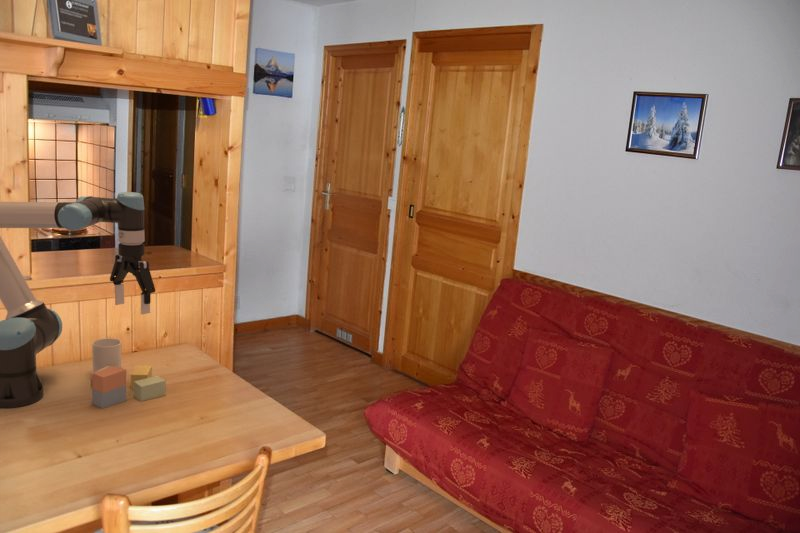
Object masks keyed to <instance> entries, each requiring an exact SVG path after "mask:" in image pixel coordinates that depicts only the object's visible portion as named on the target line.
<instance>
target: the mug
mask: <svg viewBox="0 0 800 533" xmlns="http://www.w3.org/2000/svg"><path fill="white" fill-rule="evenodd" d="M91 349H92V350H91V352H92V373H94V372H96V371H98V370H100V369H102V368H104V367H106V366H112V367H113V366H117V367H120V368H122V367H123V366H122V365H123V364H122V361H123V360H122V340H121V339H118V338H114V337H106V338H98V339H96V340H93V341H92V348H91ZM122 369H123V368H122Z"/></svg>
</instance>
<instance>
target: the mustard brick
mask: <svg viewBox="0 0 800 533" xmlns="http://www.w3.org/2000/svg"><path fill="white" fill-rule="evenodd" d="M150 377H153V365H140V364H139V365H137V364H136V365H135V367H134V369H133V370H132V372H131V374H130V389H131V390H134V381H138V380H142V379H146V378H150Z"/></svg>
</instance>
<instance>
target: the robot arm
mask: <svg viewBox="0 0 800 533" xmlns="http://www.w3.org/2000/svg"><path fill="white" fill-rule="evenodd" d="M144 201H145V200H144V196H143V194H142V193H139V192H136V191H135V192H133V191H130V192H129V191H122V192H118V193H117V195H116V198H114V197H113V198H109V197H101V196H100V197H99V196H98V197H97V196H93V195H88V196H79V197H78V198H77V199H76V201H71V202H70V201H63V202H61V201H60V202H58V201H53V202H51V201H0V229H65V230H68V231H69V232H70V231H71V232H72V231H73V232H74V231H82V230H84V229H87V228H88V227H91V226H93V225H97V224H98V223H112V224H117V231H118V234H117V235H118V236H117V238H118V242H119V243H118V246H117V247H118V250H117V251H118V254H116V255H115V257H114V259H115V260H114V264H113V268H112V270H111V274H110V277H109V281H110V282H112V284H113V285H114V303H115V304H114V305H115V306H118V305H124V304H125V284H124V280H125V278H126V277H127V275H128V274H129V273H130V274H132V275H133V276H134V277H135V279H136V281H137V283H138V286H139V288H140V291H141V293H140V314H141V315H147V314H151V302H152V300H151V299H152V298H151V294H152V293H156V288H155V284H154V281H153V277H152V273H151V270H150V264H149V261H148V260H145V261H142V257H143V256H144V255H145V253H146V252H145V243H144V242H145V240H146V239H145V202H144ZM0 302H1V303H2V304H3V306H4V308H5V310H6V311H7V313H6V316H5V317H4V318H5V319H3V320H0V408H2V409H3V408H4V409H5V408H10V409H11V408H19V407H24V406H28V405H32V404H34V403H36V402H38V401H39V400H41V399H42V398H43V397H44V394H45V393H44V392H45V389H44V385H43V383H42V381H41V379H40V376H39V374H38V371H37V355H38V354H39V353H41V352H42V351H43V350H45V349H47V348H48V347H49V346H52V345H53V344H54V343H55V342H56V341H57V340H58V339H59V338H60V336H61V335H62V333H63V332H62V331H63V321H62V319H61V317H60V315H59V314H58V313H57V312H56V311H55V310H52V309H50V308H48V307H47V306H46V304H45V302H44V301H43V300H39V299H37V298H36V297H35V295H34V293H33V291H32V290H31V288H30V287H29V285H28V283H27V281H26V279H25V278H24V275H23V274H22V272H21V270H20V269H19V267H18V265H17V263H16V261H15V260H14V258H13V256H12V254H11V252H10V251H9V249H8V247H7V245H6V244H5V242H4V240H3V238H2V236H1V235H0Z"/></svg>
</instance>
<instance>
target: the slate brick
mask: <svg viewBox="0 0 800 533" xmlns="http://www.w3.org/2000/svg"><path fill="white" fill-rule="evenodd" d="M91 390H92V392H91V394H92V395H91V396H92V404H93V405H95V406H97V407H99V408H101V409H104V408H108V407H111V406H114V405H117V404H120V403H122V402H125V401H127V384H126V385H125V386H122V387H120V388H117V389H114V390H111V391H108V392H105V393H102V392H99V391H97V390H95V389H92V388H91Z"/></svg>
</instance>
